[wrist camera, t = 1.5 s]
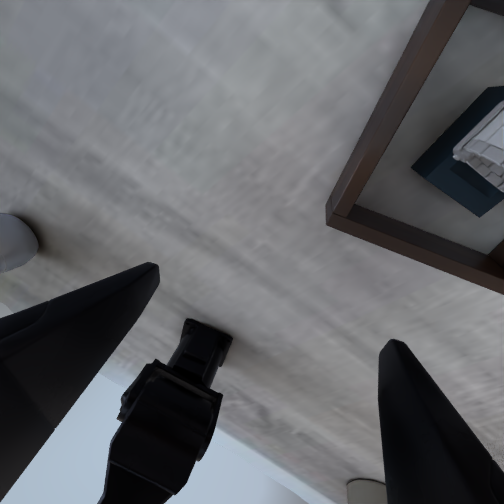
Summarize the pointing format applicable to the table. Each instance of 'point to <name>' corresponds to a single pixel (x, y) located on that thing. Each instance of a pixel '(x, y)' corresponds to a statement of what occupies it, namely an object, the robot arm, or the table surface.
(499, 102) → the watch
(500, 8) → the tray
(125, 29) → the table surface
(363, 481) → the travel mug
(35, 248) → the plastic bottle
